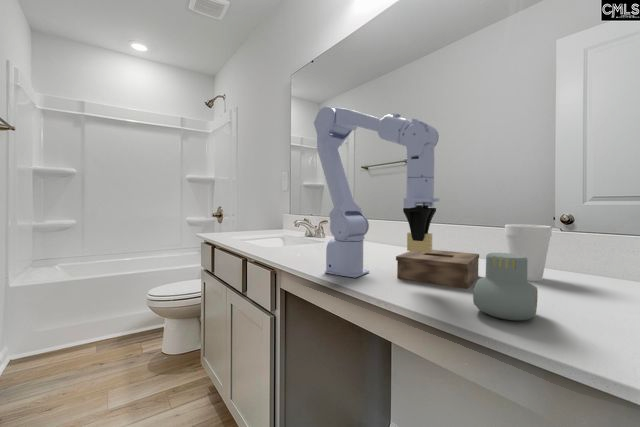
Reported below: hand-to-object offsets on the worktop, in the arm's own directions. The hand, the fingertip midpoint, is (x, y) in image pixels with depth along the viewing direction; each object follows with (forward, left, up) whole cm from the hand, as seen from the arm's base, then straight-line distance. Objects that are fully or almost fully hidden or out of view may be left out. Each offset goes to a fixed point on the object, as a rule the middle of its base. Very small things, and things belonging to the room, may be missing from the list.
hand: (419, 240), depth 66 cm
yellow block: (0, 0, -2) cm, 2 cm away
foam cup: (+19, +24, -11) cm, 32 cm away
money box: (+1, +12, -10) cm, 16 cm away
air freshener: (+17, -8, -11) cm, 22 cm away
